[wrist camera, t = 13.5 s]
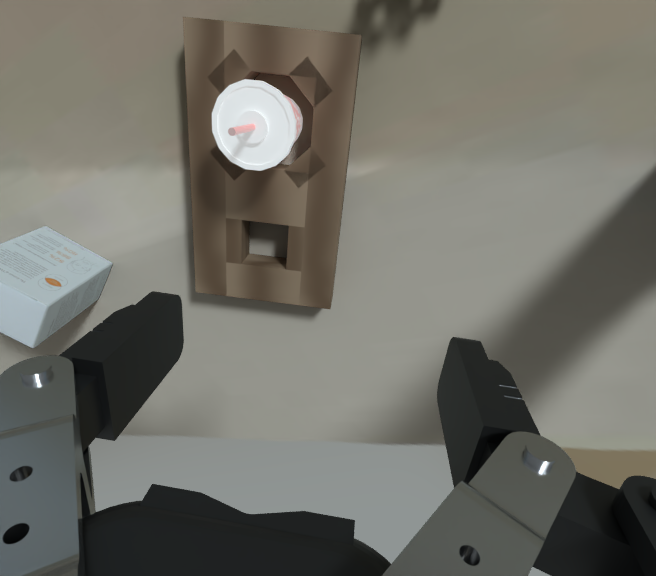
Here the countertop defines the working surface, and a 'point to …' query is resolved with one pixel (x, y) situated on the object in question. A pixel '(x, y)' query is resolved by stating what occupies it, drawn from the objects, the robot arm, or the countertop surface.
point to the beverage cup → (255, 124)
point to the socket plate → (276, 182)
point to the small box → (46, 284)
